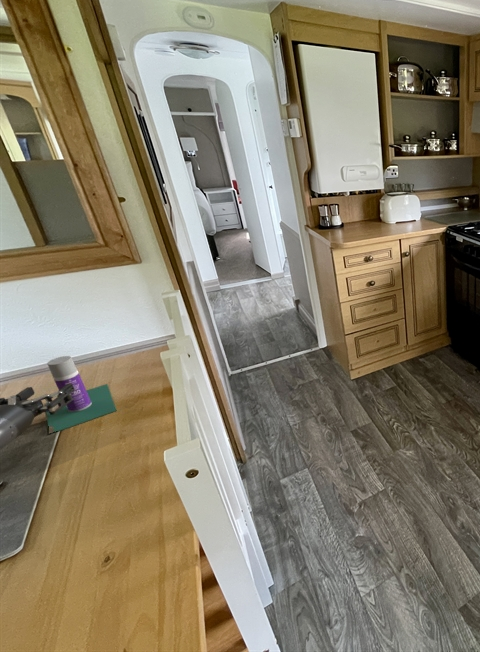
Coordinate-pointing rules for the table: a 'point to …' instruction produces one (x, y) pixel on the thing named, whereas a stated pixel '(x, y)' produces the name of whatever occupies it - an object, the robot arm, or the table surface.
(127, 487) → the table surface
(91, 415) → the napkin
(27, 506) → the table surface
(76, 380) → the container
